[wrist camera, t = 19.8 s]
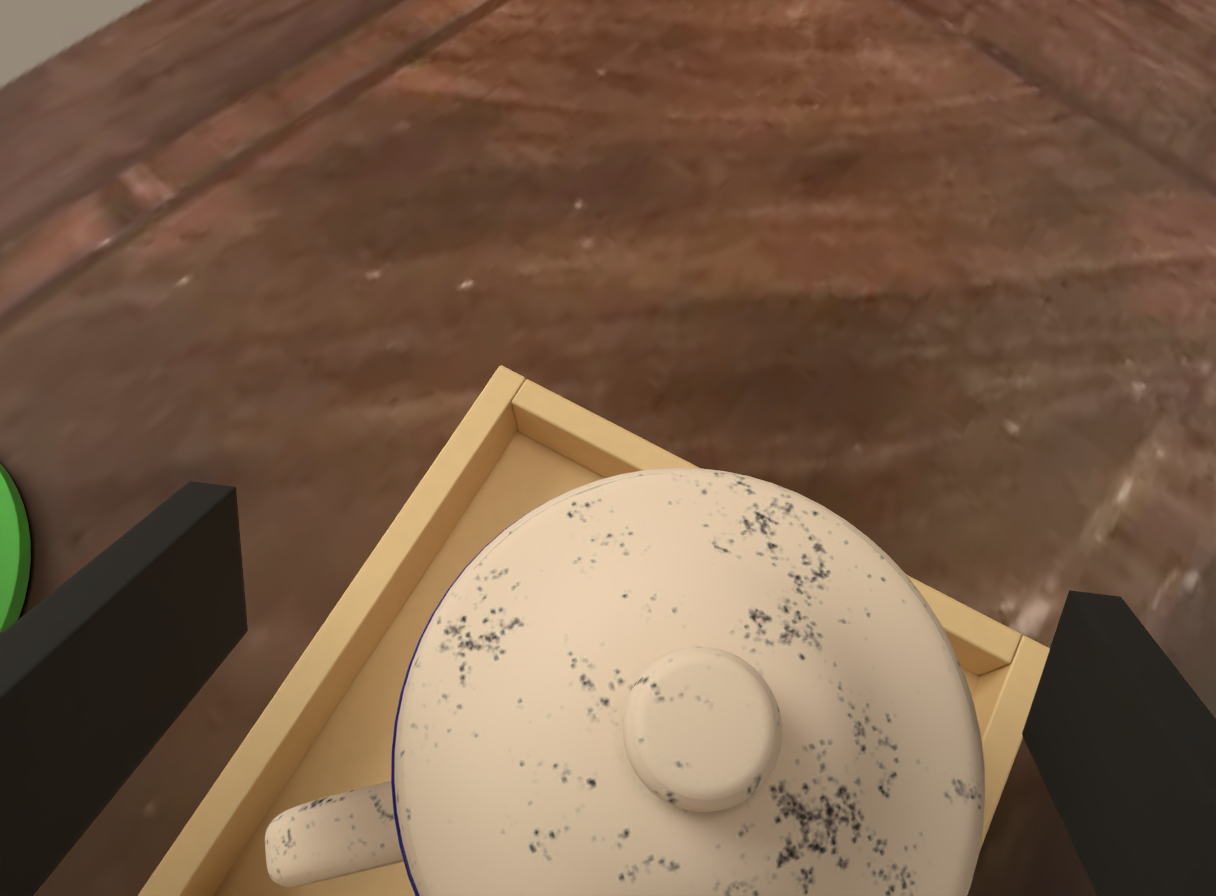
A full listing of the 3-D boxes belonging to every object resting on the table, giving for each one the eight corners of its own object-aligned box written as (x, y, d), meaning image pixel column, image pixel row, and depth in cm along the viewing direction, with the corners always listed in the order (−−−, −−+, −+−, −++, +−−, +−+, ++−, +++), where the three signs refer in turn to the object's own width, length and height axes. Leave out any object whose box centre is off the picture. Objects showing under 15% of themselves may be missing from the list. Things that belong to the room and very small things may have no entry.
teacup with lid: (786, 550, 24) (926, 331, 13) (904, 931, 21) (1223, 1052, 10) (329, 655, 23) (78, 509, 12) (376, 1070, 20) (90, 1373, 9)
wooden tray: (1008, 669, 24) (1056, 651, 21) (749, 1323, 19) (771, 1404, 16) (511, 408, 27) (500, 363, 24) (173, 915, 22) (113, 929, 19)
